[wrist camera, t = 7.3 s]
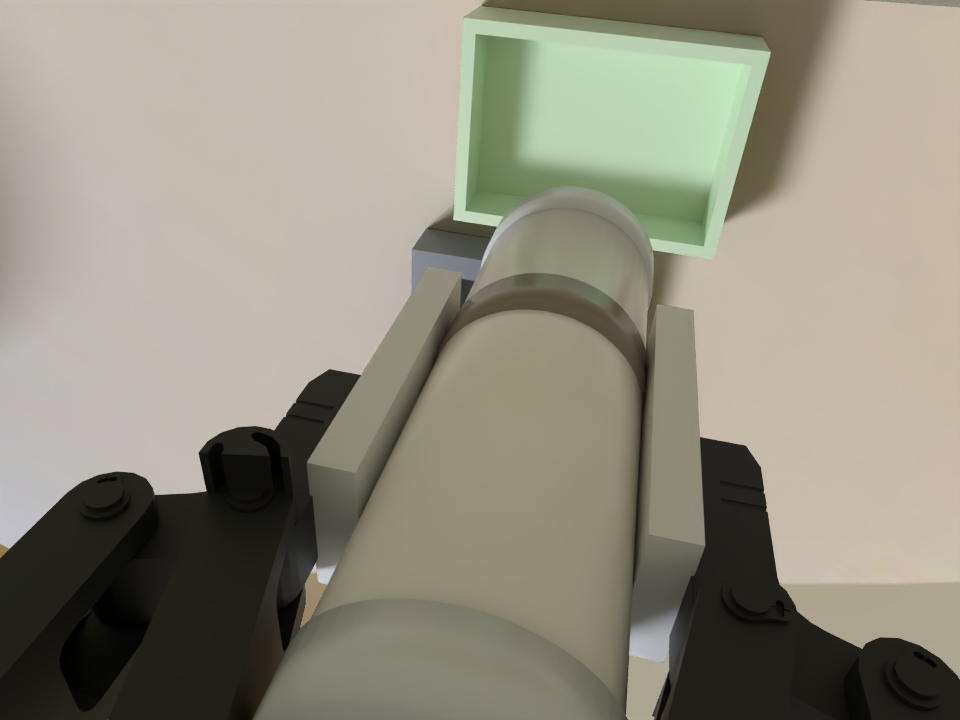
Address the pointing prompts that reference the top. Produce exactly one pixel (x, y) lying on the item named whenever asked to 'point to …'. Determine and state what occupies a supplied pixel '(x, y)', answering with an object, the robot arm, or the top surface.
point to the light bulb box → (927, 2)
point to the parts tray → (605, 118)
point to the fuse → (501, 498)
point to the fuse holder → (449, 256)
